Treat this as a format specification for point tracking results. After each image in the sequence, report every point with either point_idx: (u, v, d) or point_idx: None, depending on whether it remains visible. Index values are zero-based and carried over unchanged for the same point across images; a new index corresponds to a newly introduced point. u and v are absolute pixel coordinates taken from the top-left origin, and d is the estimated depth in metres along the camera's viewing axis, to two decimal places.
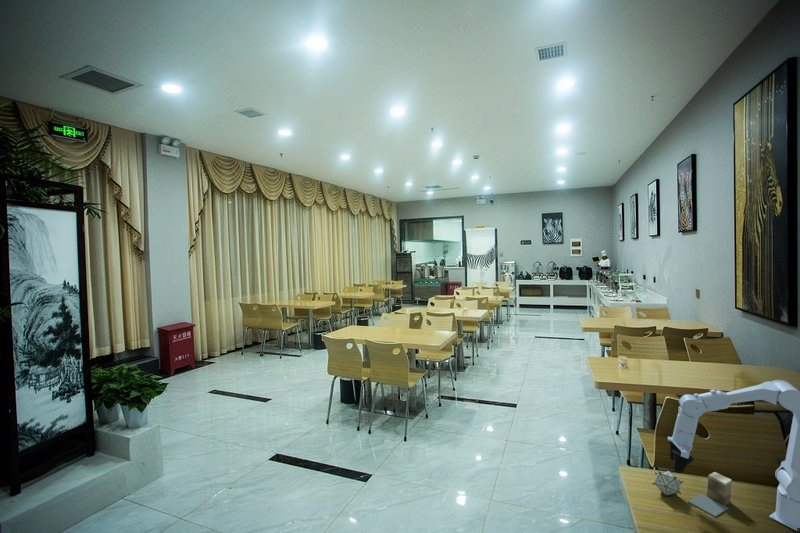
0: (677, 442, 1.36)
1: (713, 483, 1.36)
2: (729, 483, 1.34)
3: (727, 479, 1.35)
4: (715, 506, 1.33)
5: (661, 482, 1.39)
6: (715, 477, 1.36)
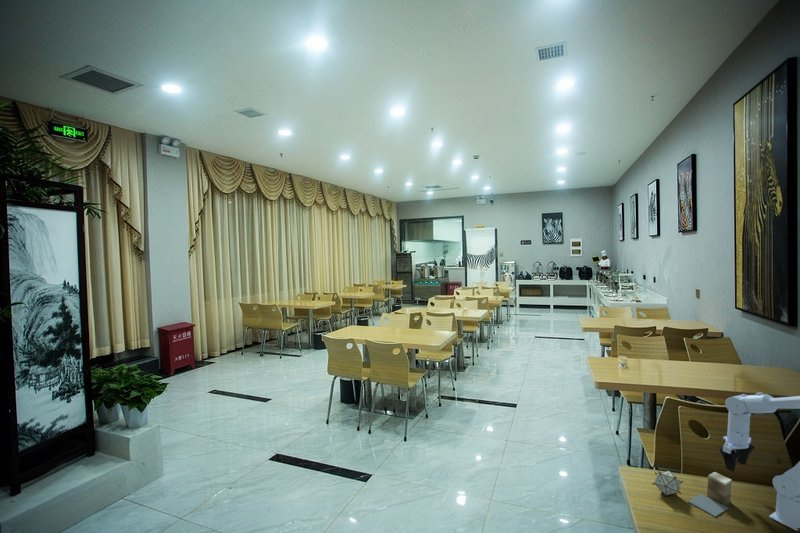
0: (728, 440, 1.40)
1: (713, 483, 1.36)
2: (729, 483, 1.34)
3: (727, 479, 1.35)
4: (715, 506, 1.33)
5: (661, 482, 1.39)
6: (715, 477, 1.36)
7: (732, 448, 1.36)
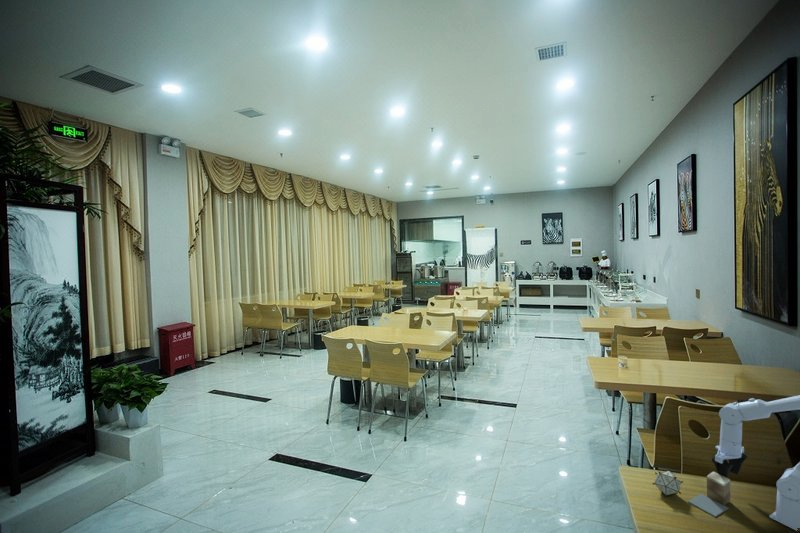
0: (720, 449, 1.38)
1: (712, 484, 1.36)
2: (728, 483, 1.34)
3: (726, 479, 1.35)
4: (715, 506, 1.33)
5: (661, 482, 1.39)
6: (714, 478, 1.36)
7: (724, 458, 1.35)
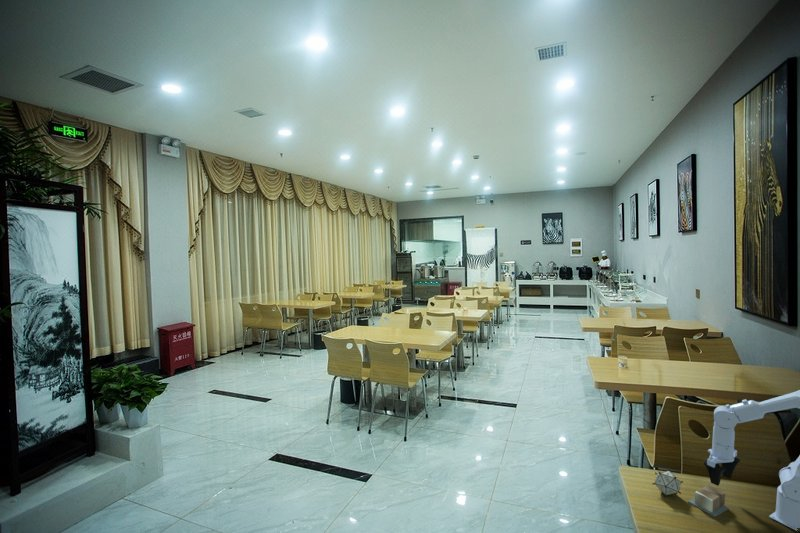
0: (713, 453, 1.36)
1: None
2: (713, 503, 1.31)
3: (709, 502, 1.31)
4: None
5: (661, 482, 1.39)
6: (700, 504, 1.33)
7: (716, 462, 1.32)
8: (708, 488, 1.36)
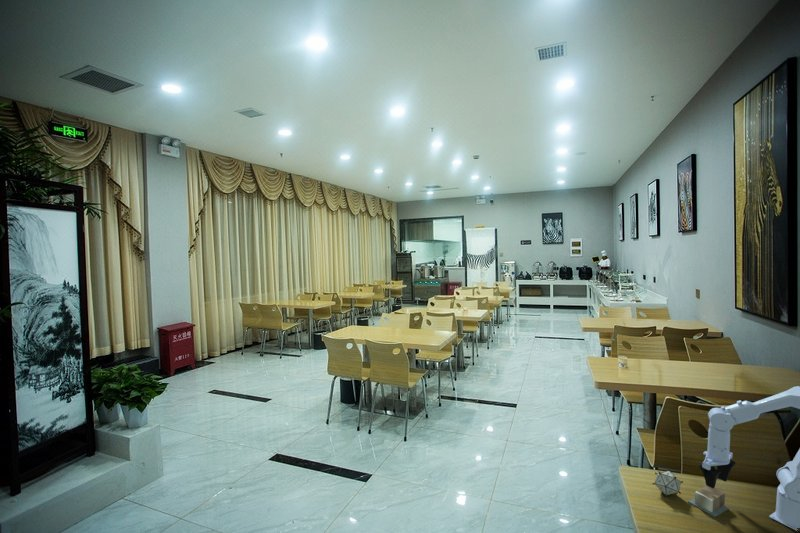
0: (708, 455, 1.35)
1: None
2: (713, 503, 1.31)
3: (709, 502, 1.31)
4: None
5: (661, 482, 1.39)
6: (700, 504, 1.33)
7: (712, 464, 1.31)
8: (708, 488, 1.36)
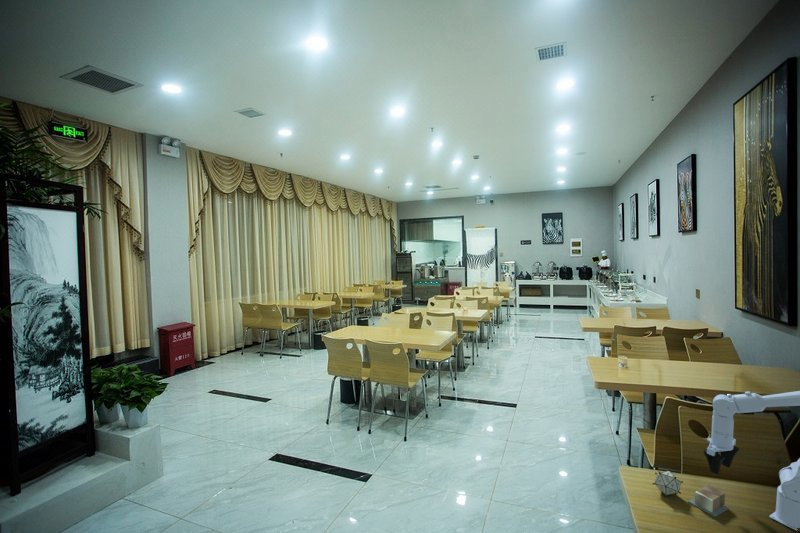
0: (712, 442, 1.36)
1: None
2: (713, 503, 1.31)
3: (709, 502, 1.31)
4: None
5: (661, 482, 1.39)
6: (700, 504, 1.33)
7: (716, 450, 1.32)
8: (708, 488, 1.36)
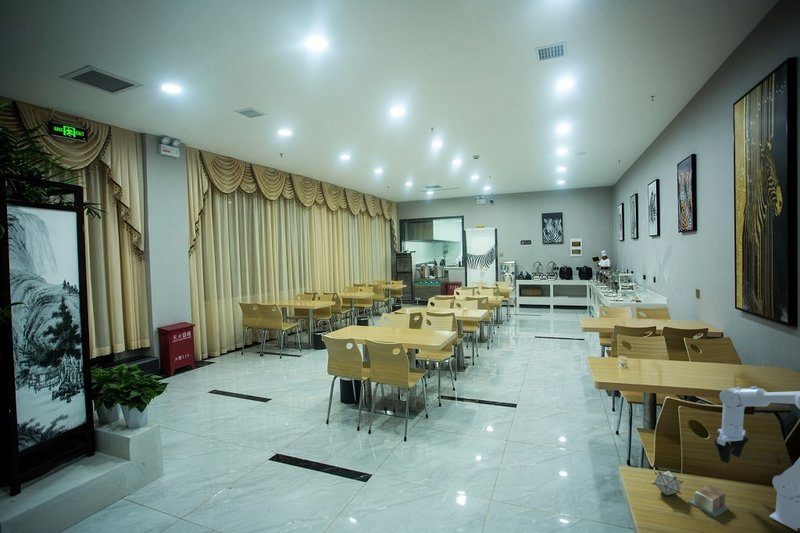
0: (722, 432, 1.42)
1: None
2: (713, 503, 1.31)
3: (709, 502, 1.31)
4: None
5: (661, 482, 1.39)
6: (700, 504, 1.33)
7: (726, 440, 1.38)
8: (708, 488, 1.36)
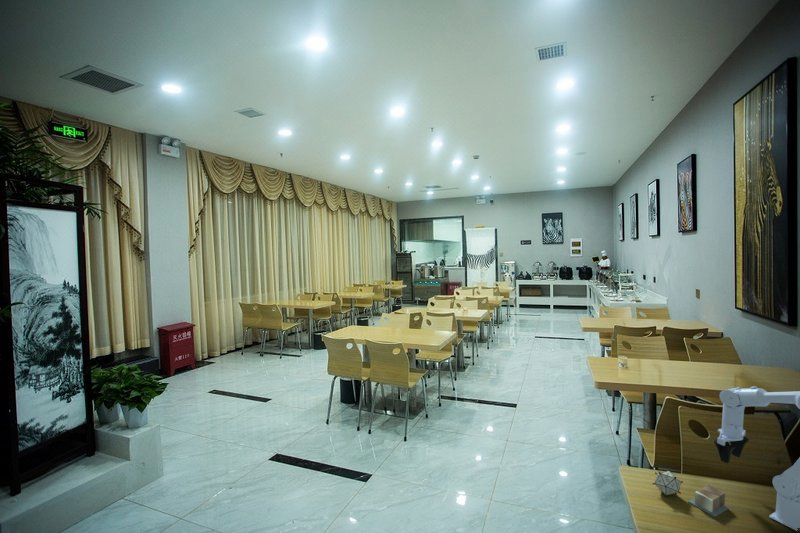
0: (722, 432, 1.42)
1: None
2: (713, 503, 1.31)
3: (709, 502, 1.31)
4: None
5: (661, 482, 1.39)
6: (700, 504, 1.33)
7: (726, 440, 1.38)
8: (708, 488, 1.36)
